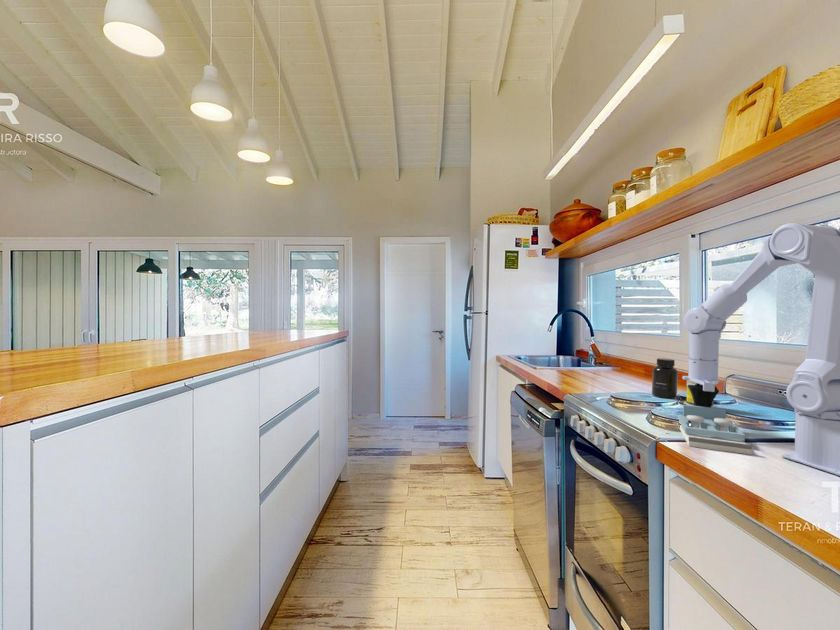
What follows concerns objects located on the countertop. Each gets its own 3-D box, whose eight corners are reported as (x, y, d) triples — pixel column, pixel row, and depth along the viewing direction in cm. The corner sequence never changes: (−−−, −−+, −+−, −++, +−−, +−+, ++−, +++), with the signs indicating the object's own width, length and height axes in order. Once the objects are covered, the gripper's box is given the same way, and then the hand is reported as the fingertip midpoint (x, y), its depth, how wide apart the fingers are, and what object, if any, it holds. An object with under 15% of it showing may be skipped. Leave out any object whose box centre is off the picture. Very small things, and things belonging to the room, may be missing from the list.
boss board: (751, 454, 75) (752, 435, 75) (688, 445, 79) (689, 427, 79) (725, 426, 93) (725, 410, 92) (675, 420, 97) (675, 405, 97)
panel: (744, 440, 79) (745, 422, 79) (685, 433, 83) (685, 416, 83) (729, 425, 89) (729, 409, 89) (677, 419, 94) (678, 404, 94)
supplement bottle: (655, 398, 122) (656, 359, 122) (649, 393, 129) (650, 357, 129) (680, 399, 120) (681, 361, 120) (673, 395, 127) (673, 358, 127)
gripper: (679, 355, 101) (677, 407, 101) (688, 361, 88) (686, 421, 88) (712, 357, 98) (711, 410, 98) (726, 364, 85) (725, 426, 85)
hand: (702, 416), depth 93 cm, fingers closed
